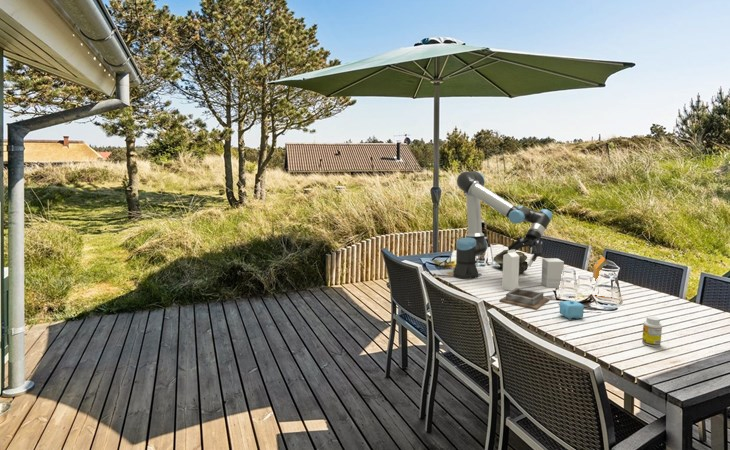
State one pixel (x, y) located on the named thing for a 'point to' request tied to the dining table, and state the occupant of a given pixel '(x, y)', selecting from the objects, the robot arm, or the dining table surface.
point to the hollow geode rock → (522, 258)
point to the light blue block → (571, 309)
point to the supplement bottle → (652, 331)
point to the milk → (510, 270)
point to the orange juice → (599, 267)
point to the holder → (525, 298)
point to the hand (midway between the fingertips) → (517, 262)
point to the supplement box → (551, 271)
